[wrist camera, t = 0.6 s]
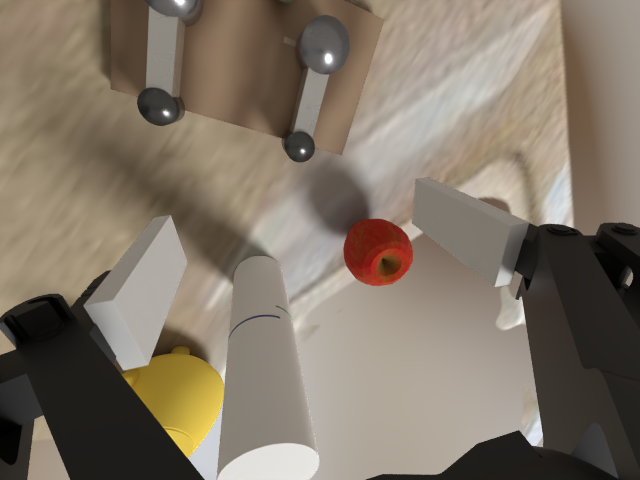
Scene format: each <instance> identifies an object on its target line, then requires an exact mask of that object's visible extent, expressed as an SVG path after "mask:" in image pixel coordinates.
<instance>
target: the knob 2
mask: <svg viewBox="0 0 640 480" xmlns="http://www.w3.org/2000/svg"><path fill="white" fill-rule="evenodd" d="M349 49H350V41H349V36H348V33H347V30H346V28H345V27H344V25H343V24H342V23H341V22H340V21H339V20H338V19H337V18H335V17H333V16H330V15H321V16H318V17H316V18H314V19H313V20H312V21H311V22H310V23H309V24H308V25H307V26H306V28H305V29H304V30H303V31H302V33H301V34H300V35H299V37H298V39H297V42H296V48H295V53H296V59H297V62H298V64H299V66H300V68H301V69H302V70H303V74H302V79H301V83H300V87H299V91H298V96H297V100H296V104H295V108H294V113H293V117H292V121H291V126H290V129H288V130H287V131H286V132H285V133H284V134H283V136H282V146H283V149H284V150H285V152H286V153H287V155H288V156H289V157H290V158H291V159H292V160H293V161H295V162H305V161H307V160H309V159H310V158H311V157H312V155H313V154H314V150H315V143H314V140H313V139H312V137H313V133H314V130H315V126H316V122H317V118H318V115H319V111H320V107H321V103H322V100H323V96H324V92H325V89H326V85H327V81H328V77H329V74H332V73H335V72H337V71H338V70H340V69H341V68H342V66H343V65H344V64H345V62H346V60H347V58H348V55H349Z"/></svg>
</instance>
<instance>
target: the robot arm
mask: <svg viewBox="0 0 640 480" xmlns="http://www.w3.org/2000/svg"><path fill="white" fill-rule="evenodd" d="M412 224H414V225H415V226H416V227H418V228H419V229H420V230H421V231H423V232H424V233H425V234H427V235H428V236H429V237H430V238H432V239H433V240H434V241H436V242H437V243H438V244H439V245H441V246H442V247H443V248H445V249H446V250H447V251H448V252H450V253H451V254H452V255H454V256H455V257H456V258H457V259H459V260H460V261H461V262H463V263H464V264H465V265H467V266H468V267H469V268H470V269H472V270H473V271H474V272H476V273H477V274H478V275H480V276H481V277H482V278H483V279H485V280H486V281H487V282H488V283H490V284H491V285H492V286H494V287H498V286H503V285H507V284H511V282H512V279H513V275H514V272H515V271H517V272H518V273H520V274H521V275H523V276H522V280H521V283H520V286H519V289H518V292H517V295H516V298H515V299H517V300H519V297H521V296H522V300H523V307H524V313H525V320H526V326H527V333H528V339H529V346H530V353H531V359H532V365H533V372H534V378H535V385H536V392H537V399H538V405H539V412H540V418H541V425H542V432H543V447H536V446H531V444H530V443H529V442H528V441H527V440H526V438H525V437H524V436H523V435H522V433H521V432H520V431H519V430H518V431H515V432H512V433H509V434H506V435H503V436H500V437H497V438H494V439H491V440H488V441H484V442H481V443H478V444H476V445H475V446H474V447H473V448H472V449H470V450H469V451H468V452H467V453H466V454H464V455H463V456H462V457H461V458H459V459H458V460H457V461H456V462H455V463H453V464H452V465H451V466H450V467H449V468H447V469H446V470H445V471H444V472H442V473H440V474H437V475H407V474H403V475H402V474H401V475H400V474H399V475H397V474H382V475H379V476H376V477H373V478H370V479H366V480H640V228H638V227H635V226H633V225H631V224H625V223H603V224H601V225H600V227H599V229H598V231H597V234H596V235H594V236H583V234H582V233H581V232H579V231H578V230H577V229H574V228H571V227H568V226H565V225H560V224H544V225H541V226H539V227H537V226H535V225H533V224H530V223H529V222H527V221H525V220H523V219H521V218H518V217H516V216H514V215H512V214H509V213H507V212H505V211H503V210H500V209H498V208H496V207H494V206H491V205H489V204H487V203H485V202H483V201H480V200H478V199H476V198H474V197H471V196H469V195H467V194H465V193H462V192H460V191H458V190H456V189H453V188H451V187H449V186H447V185H444V184H442V183H440V182H438V181H436V180H433V179H431V178H429V177H426V178H419V179H416V182H415V194H414V206H413V218H412ZM186 265H187V260H186V257H185V254H184V251H183V248H182V246H181V243H180V240H179V237H178V234H177V232H176V229H175V226H174V223H173V220H172V218H171V215H167V216H160V217H154V218H153V219H152V221H151V222H150V223H149V224H148V226H147V227H146V228H145V229H144V231H143V232H142V233H141V234H140V236H139V237H138V238H137V239H136V241H135V242H134V243H133V244H132V246H131V247H130V248H129V249H128V251H127V252H126V253H125V254H124V256H123V257H122V258H121V259H120V261H119V262H118V263H117V264H116V266H115V267H114V268H113V269H112V270H109V271H106V272H104V273H103V274H102V275H100V276H99V277H97V278H96V279H94V281H93V282H92V283H91V284H90V285H89V286H88V288H87V290H85V291H84V292H83V293H82V295H81V297H79V298H78V299H77V300H76V302H75V303H74V304H73V305H72V306H71V307H69V306H68V304H67V303H66V301H65V299H64V298H63V296H61V295H59V294H47V295H43V296H38V297H36V298H33V299H30V300H27V301H25V302H23V303H21V304H19V305H17V306H15V307H13V308H12V309H10V310H9V311H7V312H6V313H4V314H3V315H2V316H1V317H0V330H1V331H2V332H3V333H4V334H5V336H6V337H7V338H8V339H9V340H10V342H11V343H12V344H13V345H14V346H15V347H16V350H13V351H10V352H8V353H5V354H2V355H0V480H27V476H28V468H29V460H30V452H31V444H32V435H33V427H34V419H36V418H38V417H40V416H42V415H44V417H45V419H46V422H47V424H48V427H49V429H50V431H51V434H52V436H53V439H54V441H55V444H56V446H57V448H58V451H59V453H60V456H61V458H62V460H63V463H64V465H65V468H66V470H67V473H68V475H69V478H70V480H204V478H203V477H202V476H201V475H200V473H199V472H198V471H197V470H196V468H195V467H194V466H193V465H192V463H191V462H190V461H189V459H188V458H187V457H186V456H185V454H184V453H183V452H182V451H181V449H180V448H179V447H178V446H177V444H176V443H175V442H174V441H173V439H172V438H171V437H170V435H169V434H168V433H167V432H166V430H165V429H164V428H163V427H162V425H161V424H160V423H159V422H158V420H157V419H156V418H155V417H154V415H153V414H152V413H151V411H150V410H149V409H148V408H147V406H146V405H145V404H144V403H143V401H142V400H141V399H140V398H139V396H138V395H137V394H136V392H135V391H134V390H133V389H132V387H131V386H130V385H129V384H128V382H127V381H126V380H125V379H124V377H123V376H122V375H121V374H120V372H119V371H118V370H117V368H116V367H115V366H114V365H113V363H114V361H115V359H116V360H117V361H118V363H119V364H120V366H121V368H122V369H123V371H124V370H128V369H133V368H137V367H142V366H146V365H149V362H150V359H151V357H152V354H153V352H154V349H155V346H156V344H157V341H158V338H159V336H160V333H161V330H162V328H163V325H164V323H165V320H166V317H167V315H168V312H169V309H170V307H171V304H172V302H173V299H174V296H175V294H176V291H177V288H178V286H179V283H180V280H181V278H182V275H183V273H184V270H185V267H186ZM631 271H632V273H633V280H632V283H631V285H630V286H628V285H627V284H625V283H626V281H627V279H628V277H629V275H630V273H631Z"/></svg>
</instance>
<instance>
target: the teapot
mask: <svg viewBox="0 0 640 480" xmlns="http://www.w3.org/2000/svg"><path fill="white" fill-rule="evenodd" d="M189 354H190V350H189V349H188V348H187V347H184V346H177V347H175V348H173V349H172V351H171V354H164V355H159V356H155V357H153V358H151V359H150V362H149V365H146V366H142V367H137V368H133V369H128V370H127V371H126V372H124V373H123V374H121V375H122V376H123V377H124V379H125V380H126V381H127V382H128V384H129V385H130V386H131V387H132V389H133V390H134V391H135V392H136V394H137V395H138V396H139V398H140V399H141V400H142V401H143V403H144V404H145V405H146V406H147V408H148V409H149V410H150V411H151V413H152V414H153V415H154V417H155V418H156V419H157V420H158V422H159V423H160V424H161V425H162V427H163V428H164V429H165V430H166V432H167V433H168V434H169V435H170V437H171V438H172V439H173V441H174V442H175V443H176V444H177V446H178V447H179V448H180V449H181V451H182V452H183V453H184V454H185V456H186V457H187V458H188V457H189V456H190V455H191V454H192V453H193V452H194V451H195V450H196V448H197V447H198V446H199V445H200V443H201V442H202V441H203V439H204V438H205V437H206V435H207V434H208V432H209V431H210V429H211V427H212V426H213V424H214V422H215V421H216V419H217V416H218V414H219V411H220V409H221V405H222V402H223V397H224V384H223V381H222V378H221V376H220V375H219V373H218V372H217V371H216V370H215V369H214V368H213V367H212V366H211V365H209V364H208V363H207V362H205V361H204V360H202V359H200V358H198V357H195V356H192V355H189Z"/></svg>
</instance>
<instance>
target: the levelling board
mask: <svg viewBox="0 0 640 480" xmlns="http://www.w3.org/2000/svg"><path fill="white" fill-rule="evenodd" d="M321 15H330V16H333V17H335V18H337V19H338V20H339V21H340V22H341V23H342V24H343V25H344V27H345V28H346V30H347V33H348V36H349V41H350V49H349V55H348V58H347V60H346V62H345V64H344V65H343V66H342V68H341V69H340V70H338V71H337V72H335V73H332V74H329V77H328V81H327V85H326V89H325V92H324V96H323V100H322V103H321V107H320V111H319V115H318V118H317V122H316V126H315V130H314V133H313V137H312V139H313V140H314V143H315V148H319V149H322V150H326V151H329V152H333V153H336V154H340V155H342V153H343V150H344V147H345V143H346V140H347V137H348V134H349V131H350V128H351V124H352V121H353V118H354V115H355V112H356V108H357V105H358V102H359V99H360V96H361V92H362V89H363V86H364V83H365V80H366V77H367V73H368V70H369V67H370V64H371V61H372V57H373V54H374V51H375V48H376V45H377V41H378V38H379V35H380V32H381V29H382V25H383V22H384V19H382V18H380V17H378V16H376V15H374V14H372V13H370V12H368V11H366V10H364V9H362V8H360V7H357V6H355V5H353V4H351V3H349V2H347V1H345V0H204V8H203V12H202V15H201V17H200V19H199V20H198V21H197V22H196V23H195V24H193V25H191V26H188V27H185V35H184V47H183V58H182V70H181V82H180V93H179V96H180V97H181V98H182V100H183V102H184V104H185V110H186V111H189V112H193V113H196V114H200V115H203V116H207V117H210V118H214V119H217V120H221V121H224V122H228V123H231V124H235V125H238V126H242V127H245V128H249V129H252V130H256V131H259V132H263V133H266V134H270V135H273V136H277V137H280V138H282V136H283V134H284V133H285V132H286V131H287V130H288V129H290V126H291V121H292V117H293V113H294V108H295V104H296V100H297V96H298V91H299V87H300V83H301V79H302V74H303V70H302V69H301V68H300V66H299V64H298V62H297V59H296V53H295V48H296V42H297V39H298V37H299V35H300V34H301V33H302V31H303V30H304V29H305V28H306V26H307V25H308V24H309V23H310V22H311V21H312V20H313V19H314V18H316V17H318V16H321ZM148 25H149V5H148V4H147V3H146V2H145V1H144V0H111V89H112V90H116V91H119V92H123V93H126V94H130V95H133V96H137V97H138V96H139V94H140V93H141V92H142V91H143V90H144V89H146V71H147V48H148Z"/></svg>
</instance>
